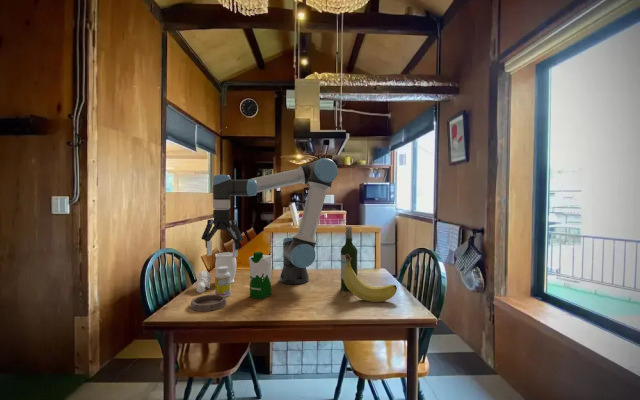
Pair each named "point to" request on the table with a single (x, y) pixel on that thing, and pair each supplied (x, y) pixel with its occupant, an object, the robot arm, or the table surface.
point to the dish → (208, 303)
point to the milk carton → (260, 275)
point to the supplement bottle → (222, 281)
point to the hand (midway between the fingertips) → (222, 256)
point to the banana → (366, 286)
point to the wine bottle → (352, 252)
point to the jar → (226, 263)
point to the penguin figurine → (203, 281)
